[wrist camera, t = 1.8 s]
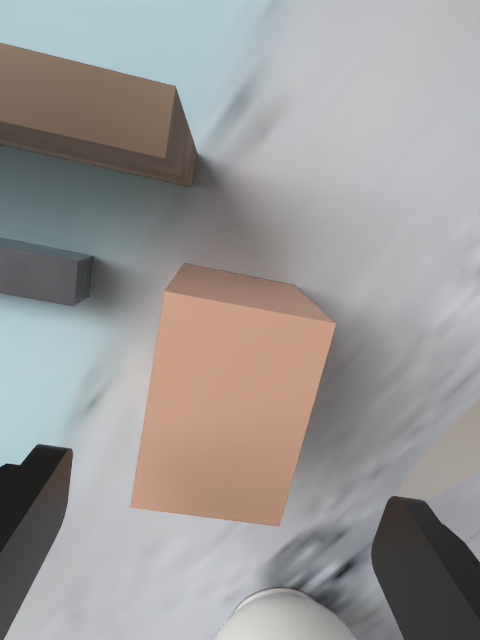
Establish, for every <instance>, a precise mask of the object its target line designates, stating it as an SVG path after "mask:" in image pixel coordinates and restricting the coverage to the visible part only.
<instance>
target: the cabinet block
mask: <svg viewBox="0 0 480 640" xmlns="http://www.w3.org/2000/svg"><path fill="white" fill-rule="evenodd" d="M335 326H336V323H335V322H334V321H333V320H332V319H331V318H329V317H328V316H327V315H326V314H325V313H324V312H323V311H322V310H321V309H320V308H318V307H317V306H316V305H315V304H314V303H313V302H312V301H311V300H310V299H309V298H308V297H306V296H305V295H304V294H303V293H302V292H301V291H300V290H299V289H298V288H297V287H295V286H294V285H291V284H286V283H281V282H276V281H271V280H266V279H261V278H256V277H251V276H246V275H241V274H236V273H231V272H226V271H221V270H216V269H210V268H205V267H200V266H195V265H190V264H185V263H184V264H183V266H182V267H181V268H180V270H179V271H178V273H177V274H176V276H175V277H174V278H173V280H172V281H171V283H170V284H169V285H168V287H167V288H166V290H165V291H164V298H163V304H162V310H161V316H160V323H159V329H158V335H157V342H156V348H155V354H154V361H153V367H152V373H151V380H150V386H149V392H148V398H147V405H146V411H145V417H144V424H143V430H142V436H141V443H140V449H139V455H138V462H137V468H136V474H135V480H134V487H133V493H132V499H131V506H130V508H138V509H146V510H154V511H161V512H169V513H177V514H185V515H193V516H201V517H209V518H217V519H224V520H232V521H240V522H248V523H256V524H264V525H272V526H279V525H280V521H281V518H282V514H283V511H284V507H285V504H286V500H287V497H288V493H289V489H290V486H291V482H292V479H293V475H294V472H295V468H296V465H297V461H298V457H299V454H300V450H301V447H302V443H303V440H304V436H305V433H306V429H307V426H308V422H309V418H310V415H311V411H312V408H313V404H314V401H315V397H316V394H317V390H318V386H319V383H320V379H321V376H322V372H323V369H324V365H325V362H326V358H327V355H328V351H329V347H330V344H331V340H332V337H333V333H334V330H335Z"/></svg>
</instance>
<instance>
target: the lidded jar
mask: <svg viewBox="0 0 480 640" xmlns="http://www.w3.org/2000/svg"><path fill="white" fill-rule="evenodd" d="M213 640H358V639H357V638H356V637H355V635H354V634H353V633H352V631H351V630H350V629H349V627H348V626H347V625H346V624H345V623H344V622H343V621H342V620H341V619H340V618H339V617H338V616H337V615H335V614H334V613H333V612H332V611H330V610H329V609H328V608H326V607H325V606H323V605H321V604H320V603H318V602H316V601H315V600H314V599H313V598H312V597H310V596H309V595H307V594H305V593H303V592H301V591H298V590H295V589H291V588H271V589H266V590H262V591H259V592H257V593H255V594H252V595H251V596H249V597H247V598H246V599H245V600H243V601H242V602H241V603H240V604H239V605H238V606H237V608H236V609H235V611H234V612H233V614H232V615H231V616H230V617H229V618H228V619H227V621H226V622H225V623H224V624H223V625H222V626H221V628H220V629H219V631H218V632H217V634H216V636H215V637H214V639H213Z"/></svg>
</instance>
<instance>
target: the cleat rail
mask: <svg viewBox="0 0 480 640" xmlns="http://www.w3.org/2000/svg"><path fill="white" fill-rule="evenodd" d="M92 261H93V256H90V255H85V254H80V253H75V252H70V251H65V250H59V249H54V248H49V247H44V246H39V245H34V244H29V243H24V242H19V241H13V240H8V239H3V238H0V293H3V294H8V295H14V296H19V297H25V298H30V299H36V300H42V301H47V302H53V303H58V304H64V305H69V306H75V305H76V304H78V303H80V302H81V301H83V300H84V299H86V298H87V297H89V289H90V279H91V270H92Z"/></svg>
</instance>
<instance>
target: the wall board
mask: <svg viewBox="0 0 480 640" xmlns="http://www.w3.org/2000/svg"><path fill="white" fill-rule="evenodd" d="M0 145H3V146H8V147H12V148H17V149H21V150H26V151H30V152H35V153H40V154H44V155H49V156H53V157H58V158H62V159H67V160H71V161H76V162H80V163H85V164H89V165H94V166H98V167H103V168H107V169H112V170H117V171H121V172H126V173H130V174H135V175H139V176H144V177H148V178H153V179H157V180H162V181H166V182H171V183H175V184H180V185H184V186H189V187H191V186H192V180H193V174H194V168H195V162H196V156H197V151H196V147H195V144H194V141H193V138H192V135H191V132H190V129H189V126H188V123H187V120H186V117H185V114H184V111H183V108H182V105H181V102H180V99H179V95H178V92H177V89H176V86H173V85H169V84H165V83H160V82H156V81H152V80H148V79H144V78H140V77H136V76H132V75H128V74H124V73H120V72H116V71H112V70H108V69H104V68H100V67H96V66H92V65H88V64H84V63H80V62H76V61H72V60H68V59H64V58H60V57H56V56H52V55H48V54H44V53H40V52H36V51H32V50H28V49H24V48H20V47H16V46H12V45H8V44H4V43H0Z"/></svg>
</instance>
